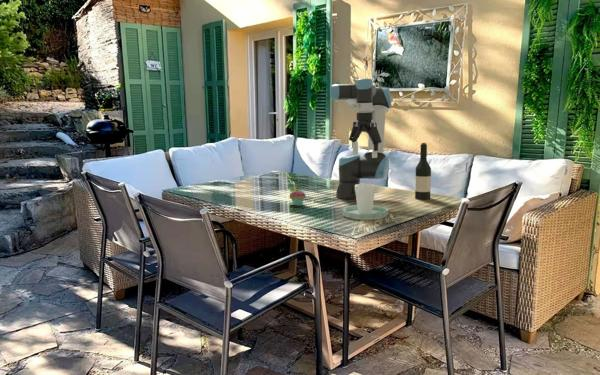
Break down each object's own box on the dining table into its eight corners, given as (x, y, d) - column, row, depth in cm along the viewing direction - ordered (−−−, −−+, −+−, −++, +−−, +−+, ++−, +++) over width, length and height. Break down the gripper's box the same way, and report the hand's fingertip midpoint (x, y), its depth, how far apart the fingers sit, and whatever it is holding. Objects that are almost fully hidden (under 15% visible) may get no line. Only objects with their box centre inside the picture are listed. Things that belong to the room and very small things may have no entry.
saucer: (335, 217, 206) (335, 211, 206) (353, 208, 223) (353, 203, 223) (377, 221, 196) (377, 216, 195) (393, 212, 213) (393, 207, 212)
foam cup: (374, 215, 204) (374, 187, 202) (354, 215, 206) (354, 187, 203) (375, 210, 213) (375, 183, 211) (355, 210, 215) (355, 183, 213)
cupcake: (294, 206, 231) (293, 183, 229) (286, 203, 238) (286, 181, 236) (308, 204, 234) (308, 182, 232) (301, 201, 242) (300, 180, 240)
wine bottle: (427, 200, 238) (429, 143, 233) (412, 199, 243) (413, 143, 238) (432, 197, 245) (433, 142, 240) (417, 196, 250) (418, 142, 245)
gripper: (341, 112, 221) (342, 154, 225) (377, 112, 201) (377, 159, 205) (353, 111, 225) (353, 153, 230) (389, 112, 205) (389, 158, 209)
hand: (364, 156), depth 217 cm, fingers open, 13 cm apart
